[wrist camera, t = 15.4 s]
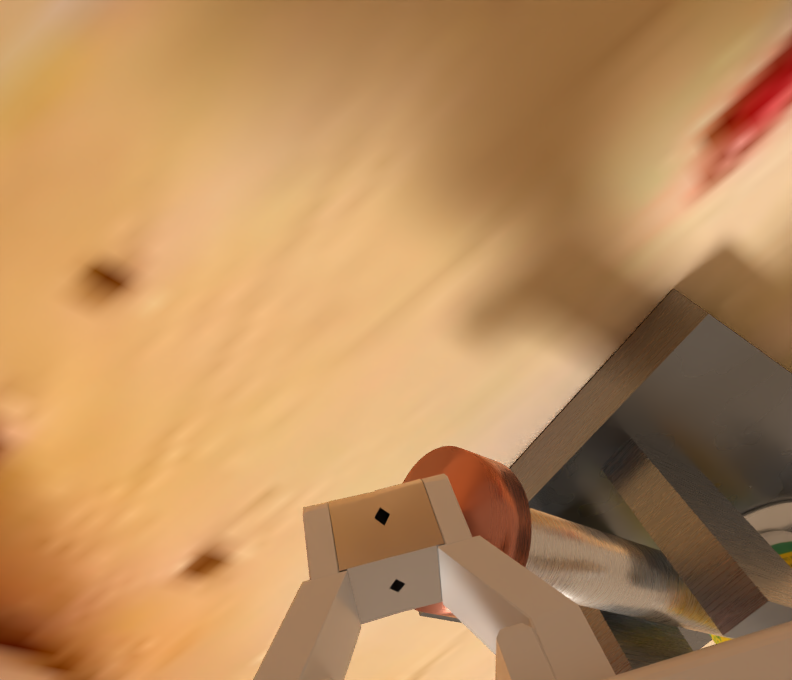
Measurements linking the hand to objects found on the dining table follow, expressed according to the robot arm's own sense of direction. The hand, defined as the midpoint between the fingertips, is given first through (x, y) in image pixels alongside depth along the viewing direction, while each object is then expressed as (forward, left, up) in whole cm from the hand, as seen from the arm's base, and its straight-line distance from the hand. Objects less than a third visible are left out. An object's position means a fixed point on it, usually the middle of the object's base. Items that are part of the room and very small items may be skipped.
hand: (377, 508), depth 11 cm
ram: (+8, 0, -2) cm, 8 cm away
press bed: (+16, 0, -5) cm, 16 cm away
